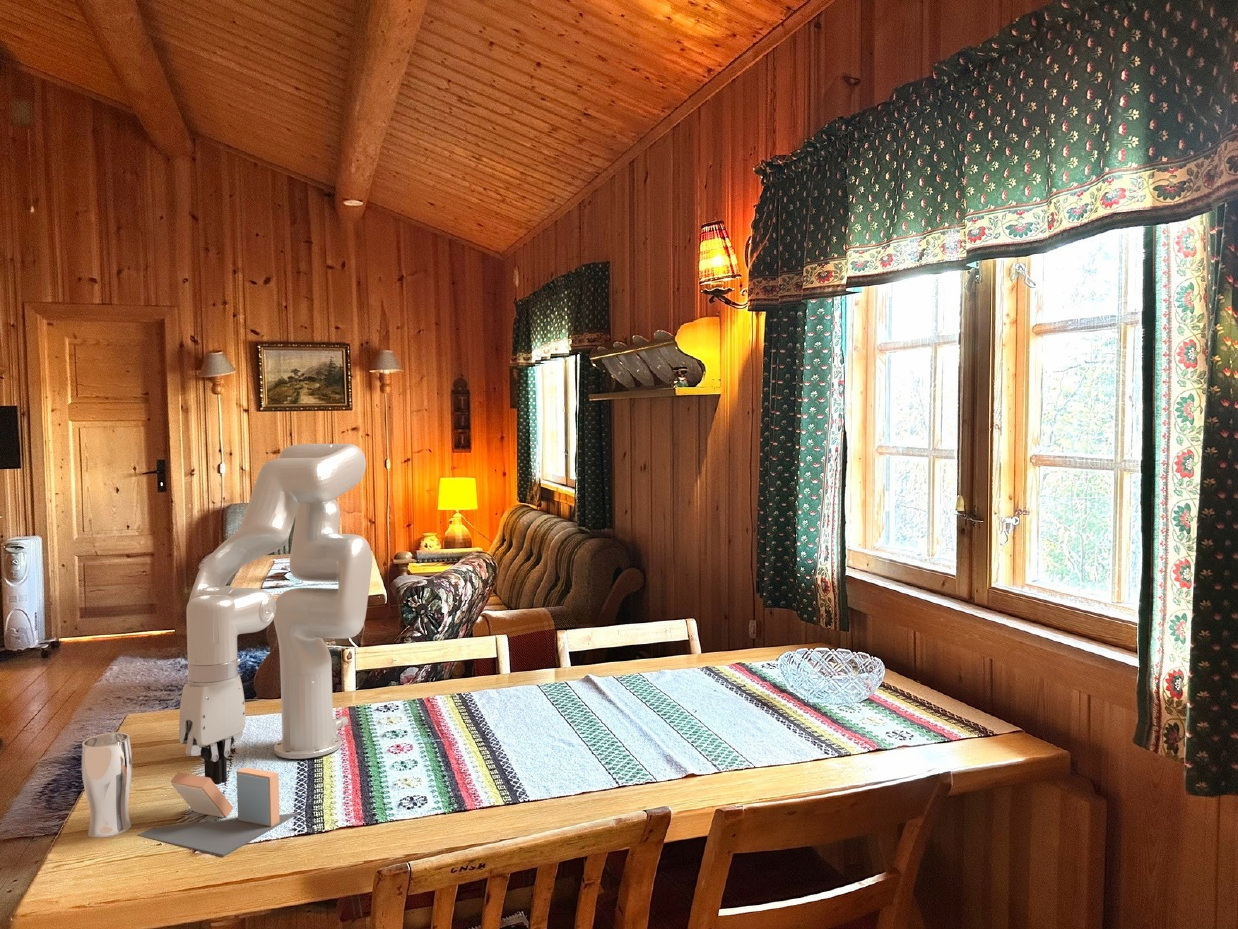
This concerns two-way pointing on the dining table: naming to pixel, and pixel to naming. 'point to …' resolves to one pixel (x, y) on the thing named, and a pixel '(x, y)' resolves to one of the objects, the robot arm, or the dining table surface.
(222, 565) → the robot arm
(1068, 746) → the dining table surface
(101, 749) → the beer glass
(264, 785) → the peach flat block
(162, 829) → the rubber mat
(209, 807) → the terracotta tile
